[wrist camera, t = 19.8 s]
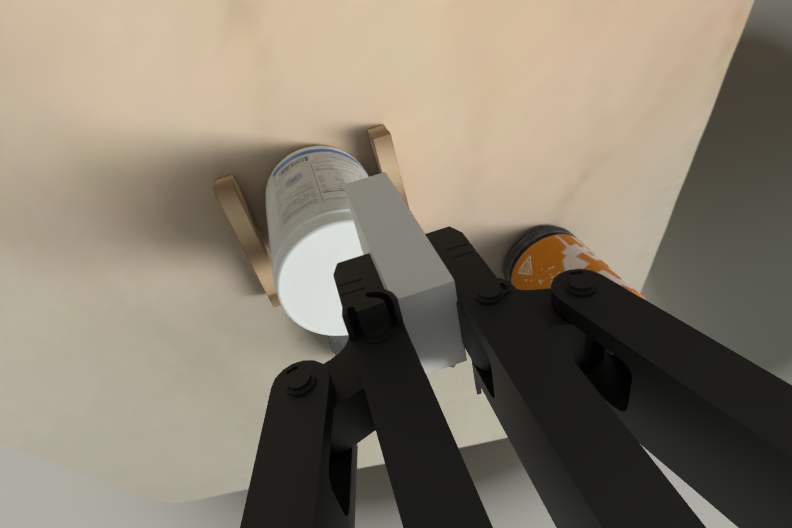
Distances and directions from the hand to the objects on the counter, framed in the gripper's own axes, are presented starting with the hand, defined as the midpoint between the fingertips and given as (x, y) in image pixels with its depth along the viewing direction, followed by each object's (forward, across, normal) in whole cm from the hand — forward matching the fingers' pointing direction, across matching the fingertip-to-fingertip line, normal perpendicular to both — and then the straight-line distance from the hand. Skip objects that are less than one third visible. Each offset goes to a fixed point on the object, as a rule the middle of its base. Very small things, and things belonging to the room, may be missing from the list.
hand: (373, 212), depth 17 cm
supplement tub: (+26, -2, -11) cm, 28 cm away
